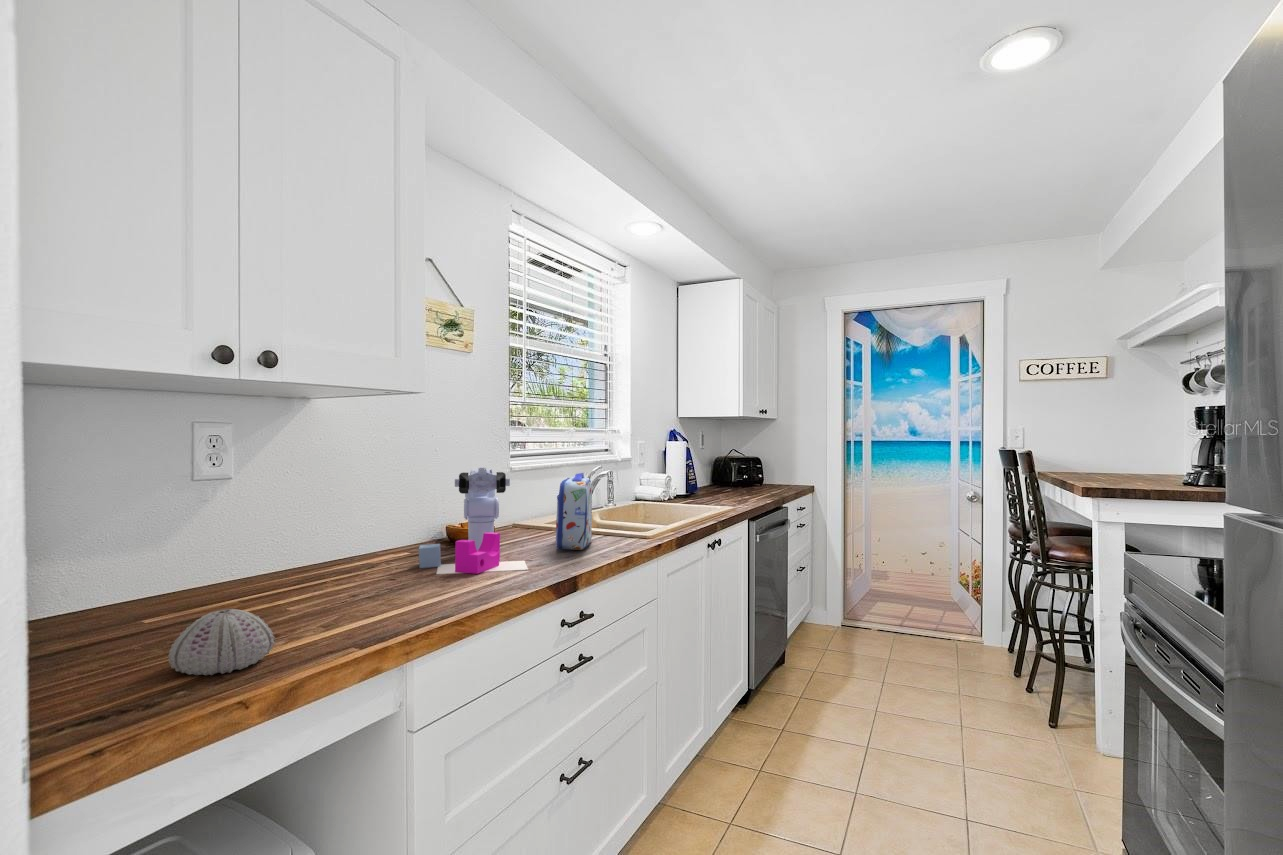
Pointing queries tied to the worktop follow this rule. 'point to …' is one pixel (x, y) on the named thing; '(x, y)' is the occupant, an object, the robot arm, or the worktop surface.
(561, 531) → the lunch box
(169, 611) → the worktop surface
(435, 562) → the blue cube
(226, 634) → the sea urchin shell
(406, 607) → the worktop surface
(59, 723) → the worktop surface
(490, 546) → the toy block
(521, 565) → the letter board
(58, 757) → the worktop surface
